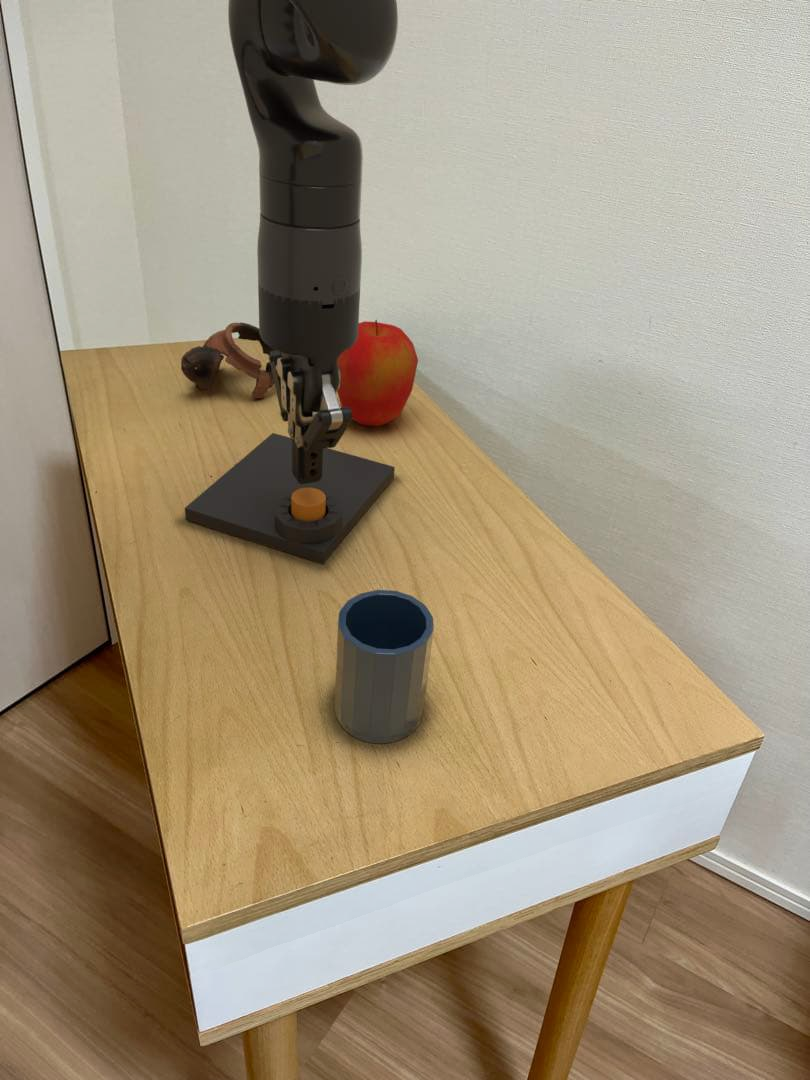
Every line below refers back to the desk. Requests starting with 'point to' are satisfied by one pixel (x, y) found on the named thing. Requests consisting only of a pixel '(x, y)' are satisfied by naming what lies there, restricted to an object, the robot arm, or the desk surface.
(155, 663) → the desk surface
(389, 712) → the cup
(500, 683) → the desk surface
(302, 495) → the button
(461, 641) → the desk surface
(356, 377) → the apple
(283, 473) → the scale
